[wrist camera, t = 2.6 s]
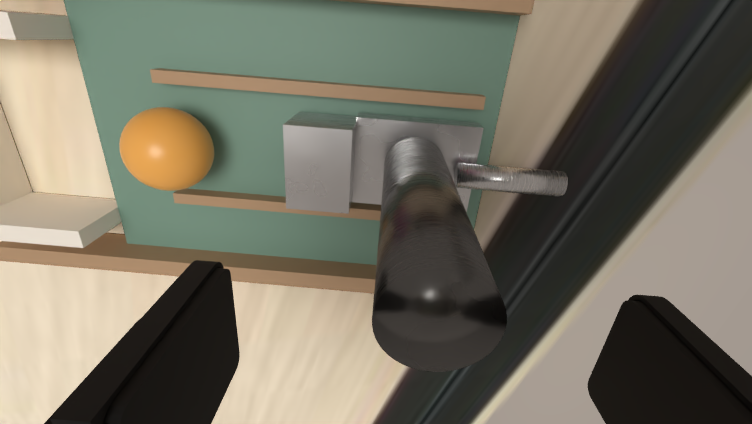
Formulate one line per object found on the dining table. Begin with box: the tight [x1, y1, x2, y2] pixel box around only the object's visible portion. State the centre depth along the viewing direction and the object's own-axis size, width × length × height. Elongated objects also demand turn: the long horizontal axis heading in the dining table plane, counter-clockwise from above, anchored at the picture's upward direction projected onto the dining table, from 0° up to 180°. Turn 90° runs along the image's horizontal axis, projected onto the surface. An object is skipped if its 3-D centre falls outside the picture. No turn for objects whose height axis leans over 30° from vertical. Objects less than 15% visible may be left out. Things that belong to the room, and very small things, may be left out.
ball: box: [119, 107, 214, 191], centre depth 18 cm, size 4×4×4 cm
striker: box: [283, 112, 568, 372], centre depth 14 cm, size 13×4×12 cm, turn 86°
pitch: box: [0, 0, 534, 293], centre depth 19 cm, size 28×16×4 cm, turn 86°
